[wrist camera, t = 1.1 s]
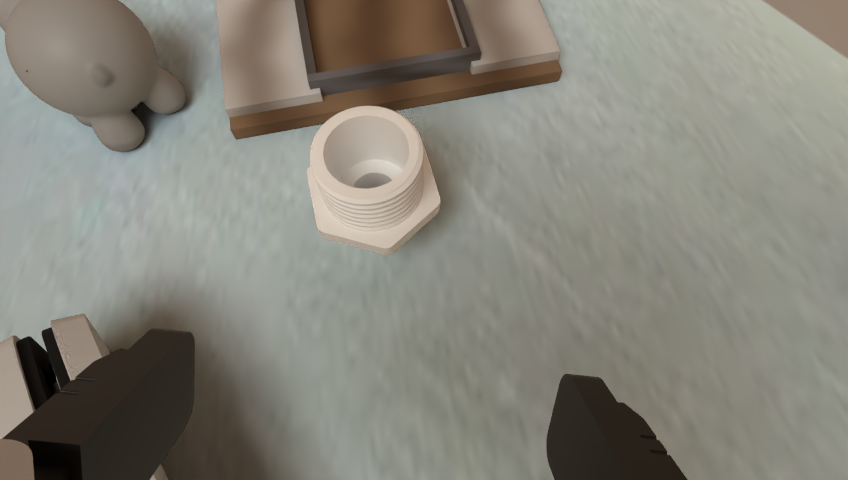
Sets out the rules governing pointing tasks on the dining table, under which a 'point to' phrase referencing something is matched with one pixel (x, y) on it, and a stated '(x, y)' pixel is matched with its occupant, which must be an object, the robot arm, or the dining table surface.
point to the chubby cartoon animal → (89, 64)
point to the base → (373, 56)
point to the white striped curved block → (46, 369)
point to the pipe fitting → (371, 179)
